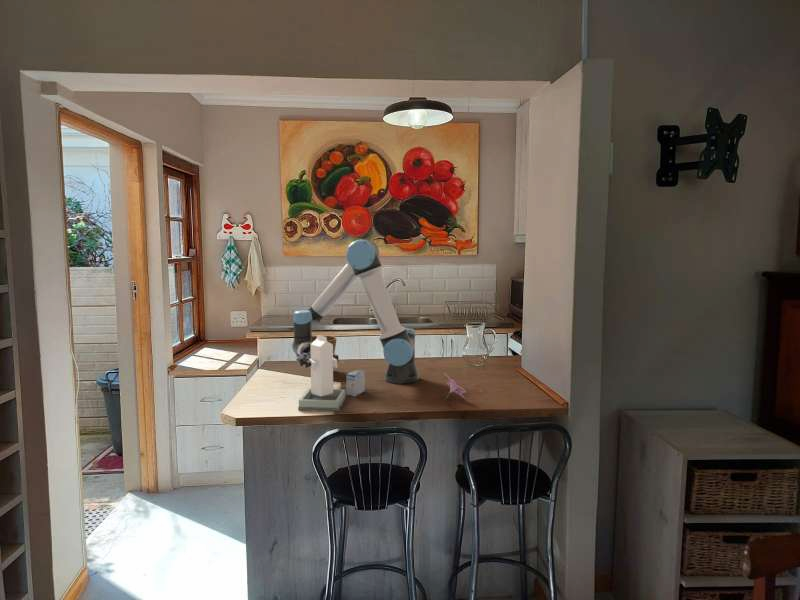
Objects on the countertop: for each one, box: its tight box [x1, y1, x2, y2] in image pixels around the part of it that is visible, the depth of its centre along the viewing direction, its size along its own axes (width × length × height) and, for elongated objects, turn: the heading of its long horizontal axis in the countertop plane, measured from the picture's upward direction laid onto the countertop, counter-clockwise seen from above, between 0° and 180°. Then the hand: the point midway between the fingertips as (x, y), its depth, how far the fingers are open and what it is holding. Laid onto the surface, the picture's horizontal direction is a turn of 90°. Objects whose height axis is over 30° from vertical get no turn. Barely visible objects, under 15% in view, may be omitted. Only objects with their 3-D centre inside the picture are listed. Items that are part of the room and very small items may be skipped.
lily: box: [443, 373, 467, 400], centre depth 199 cm, size 12×12×10 cm
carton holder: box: [297, 388, 347, 412], centre depth 193 cm, size 15×15×4 cm
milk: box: [310, 334, 334, 396], centre depth 191 cm, size 6×6×22 cm
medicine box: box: [345, 369, 366, 397], centre depth 206 cm, size 8×4×9 cm, turn 155°
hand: (325, 365), depth 187 cm, fingers closed on milk, 8 cm apart
